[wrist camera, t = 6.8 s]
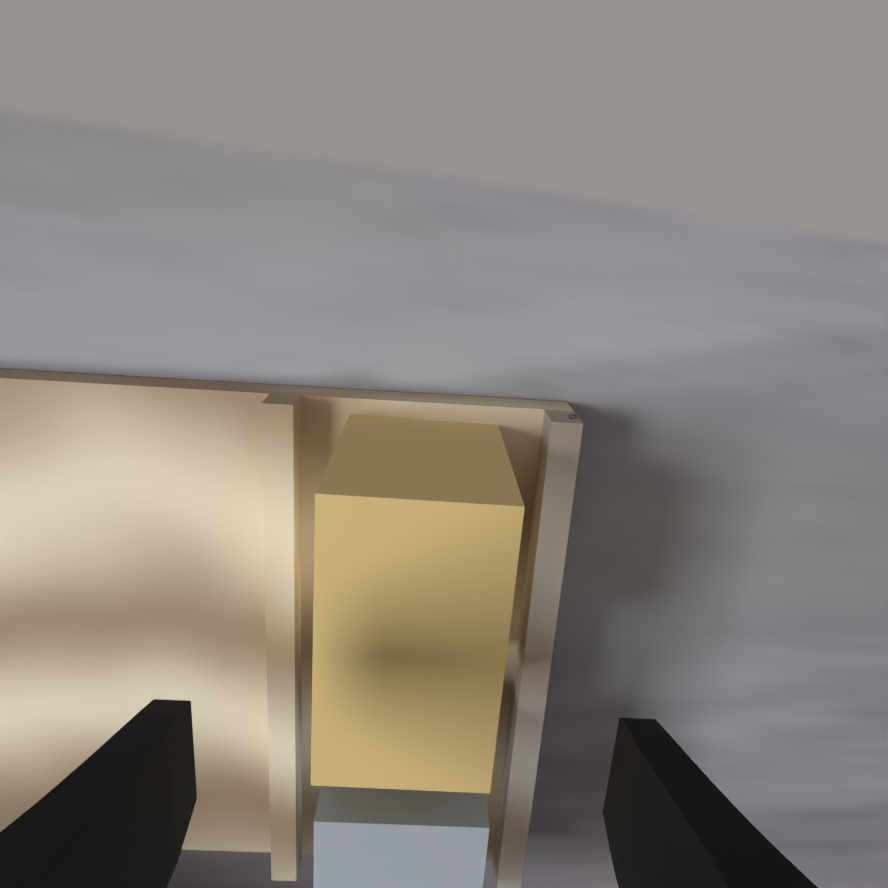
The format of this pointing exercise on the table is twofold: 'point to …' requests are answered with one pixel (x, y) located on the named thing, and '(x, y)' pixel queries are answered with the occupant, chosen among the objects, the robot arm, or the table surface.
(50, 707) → the beige divided tray
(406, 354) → the table surface
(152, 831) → the robot arm
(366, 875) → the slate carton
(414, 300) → the table surface
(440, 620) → the ochre carton
